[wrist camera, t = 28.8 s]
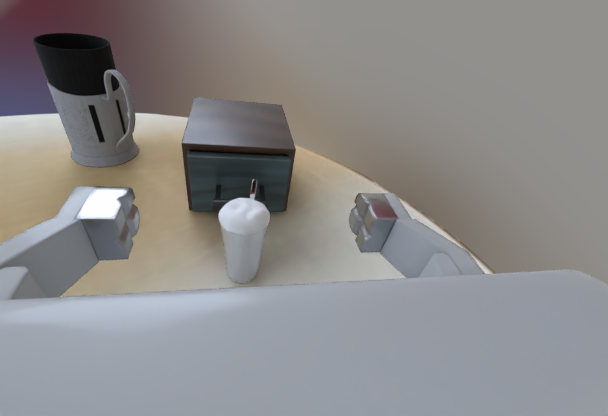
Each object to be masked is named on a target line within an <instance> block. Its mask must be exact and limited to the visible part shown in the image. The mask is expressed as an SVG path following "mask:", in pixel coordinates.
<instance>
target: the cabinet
mask: <svg viewBox="0 0 608 416" xmlns="http://www.w3.org/2000/svg"><path fill="white" fill-rule="evenodd" d="M197 150H204V151H224V152H244V153H264V154H282V156H290V159H291V165H290V172H289V179H288V185H287V192H286V199H285V205H284V211H286V208H287V201H288V195H289V189H290V182H291V176H292V169H293V163H294V157H295V150H296V149H295V146H294V143H293V140H292V137H291V133H290V130H289V126H288V123H287V120H286V117H285V113H284V111H283V107H282V105H277V104H265V103H255V102H244V101H232V100H221V99H210V98H198V97H195V98H194V101H193V104H192V108H191V111H190V115H189V119H188V122H187V126H186V129H185V133H184V137H183V140H182V151H183V160H184V168H185V177H186V185H187V194H188V202H189V210H193V208H192V199H191V189H190V180H189V171H188V162H187V154H188V151H195V152H197Z"/></svg>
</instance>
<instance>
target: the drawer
mask: <svg viewBox="0 0 608 416" xmlns="http://www.w3.org/2000/svg"><path fill="white" fill-rule="evenodd" d="M187 162H188V171H189V180H190V189H191V199H192V208H193V211H213V212H220V210H221V209H222V207H223V206H224V205H225V204H226V203H228V202H229V201H231V200H234V199H237V198H250V194H251V187H252V181H253V179H254V180H257V187H256V193H255V199H254V200H256V201H258V202H261V203H262V204H264V205H265V207H266V208H267V210H268V211H284V205H285V199H286V192H287V185H288V179H289V172H290V165H291V159H290V156H282V154H264V153H244V152H224V151H204V150H197V152H195V151H188V154H187Z"/></svg>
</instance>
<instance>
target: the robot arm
mask: <svg viewBox="0 0 608 416" xmlns="http://www.w3.org/2000/svg"><path fill="white" fill-rule="evenodd" d="M134 199H135V196H134V193H133V190H132V189H131V188H124V187H101V186H97V187H95V186H78V187H76V188H75V189H74V190H73V192H72V193H71V195H70V196H69V197H68V199H67V200H66V202H65V203H64V205H63V206H62V208H61V209H60V211H59V212H58V214H57V215H56V217H55V218H54V219H47V220H46V221H44V222H42V223H40V224H38V225H36V226H34V227H32V228H30V229H28V230H26V231H24V232H22V233H20V234H19V235H17V236H15V237H13V238H11V239H9V240H7V241H5V242H3V243H1V244H0V416H608V285H607V284H605V283H604V282H602V281H600V280H598V279H596V278H594V277H592V276H590V275H588V274H585V273H583V272H581V271H577V270H553V271H534V272H516V273H499V274H498V273H497V274H485V273H484V272H483V271H482V269H481V268H480V267H479V266H478V264H477V263H476V262H475V260H474V259H473V258H472V257H471V255H470V254H469V253H468V252H467V251H466V250H464V249H463V248H461V247H459V246H458V245H456V244H454V243H453V242H451V241H450V240H448V239H446V238H445V237H443V236H442V235H440V234H438V233H437V232H435V231H433V230H432V229H430V228H429V227H427V226H425V225H424V224H422V223H421V222H419V221H417V220H416V219H412V218H411V217H410V215H409V214H408V212H407V211H406V209H405V208H404V206H403V205H402V203H401V202H400V200H399V199H398V197H397V196H396V195H395V194H393V193H382V194H366V193H359V194H358V195H357V196H356V199H355V203H356V206H355V207H354V208H353V209H352V210H351V213H350V218H349V224H350V228H351V231H352V232H353V233H354V234H355V235H357V237H356V243H357V245H358V247H359V250H360V252H380V254H381V255H382V256H383V257H384V258H385V259H387V260H388V261H389V262H390V263H391V264H392V265H393V266H394V267H395V268H396V269H397V270H398V271H399V272H401V273H402V274H403V275H404V276H405V277H406V278H404V279H386V280H368V281H349V282H330V283H311V284H292V285H274V286H256V287H237V288H219V289H200V290H182V291H163V292H145V293H126V294H108V295H89V296H71V297H60V296H61V295H62V294H63V293H64V292H65V291H66V290H68V289H69V288H70V287H71V286H72V285H73V284H74V283H76V282H77V281H78V280H79V279H80V278H81V277H82V276H84V275H85V274H86V273H87V272H88V271H89V270H90V269H92V268H93V267H94V266H95V265H96V264H97V263H98V262H99V261H101V260H121V259H128V258H129V255H130V252H131V249H132V246H133V241H132V237H134V236H135V235H136V234H137V232H138V229H139V220H140V219H139V211H138V208H137V207H136V206H135V205H134V204H133V202H134Z"/></svg>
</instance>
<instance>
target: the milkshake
mask: <svg viewBox="0 0 608 416" xmlns="http://www.w3.org/2000/svg"><path fill="white" fill-rule="evenodd" d="M256 187H257V180H254V179H253V181H252V187H251V194H250V198H237V199H234V200H231V201H229V202H228V203H226V204H225V205H224V206H223V207H222V209H221V210H220V212H219V222H220V228H221V234H222V239H223V246H224V254H225V261H226V269H227V273H228V275H229V278H230V279H232V280H233V281H235V282H237V283H247V282H249V281H251V280H252V279H254V278H255V277H256V274H257V271H258V267H259V263H260V258H261V253H262V248H263V243H264V239H265V236H266V232H267V228H268V224H269V220H270V213H269V211H268V210H267V208H266V207H265V205H264V204H262V203H261V202H258V201H256V200H254V199H255V193H256Z"/></svg>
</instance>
